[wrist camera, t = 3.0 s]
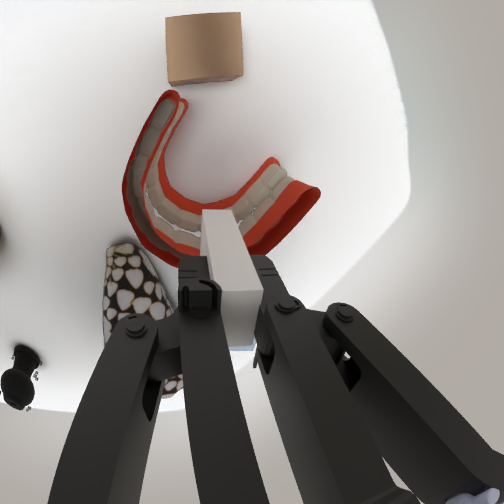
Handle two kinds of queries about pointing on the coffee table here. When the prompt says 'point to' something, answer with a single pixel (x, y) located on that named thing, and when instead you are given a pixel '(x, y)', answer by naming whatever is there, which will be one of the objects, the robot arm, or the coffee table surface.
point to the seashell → (134, 295)
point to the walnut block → (204, 48)
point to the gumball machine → (20, 379)
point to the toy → (190, 212)
